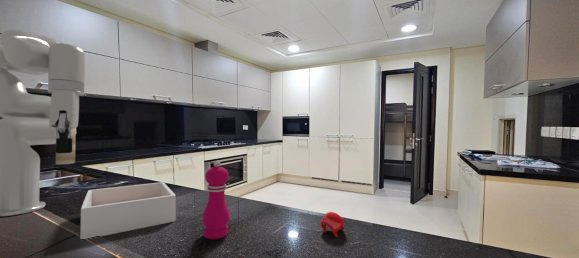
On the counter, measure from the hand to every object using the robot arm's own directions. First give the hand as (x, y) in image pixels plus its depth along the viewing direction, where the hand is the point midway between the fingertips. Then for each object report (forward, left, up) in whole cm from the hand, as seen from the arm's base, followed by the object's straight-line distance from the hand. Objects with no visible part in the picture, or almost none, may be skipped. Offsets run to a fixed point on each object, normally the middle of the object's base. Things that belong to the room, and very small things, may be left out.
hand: (65, 151), depth 67 cm
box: (+2, +15, -21) cm, 27 cm away
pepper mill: (+29, +34, -22) cm, 50 cm away
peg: (0, 0, -3) cm, 3 cm away
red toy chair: (+47, +60, -22) cm, 80 cm away
